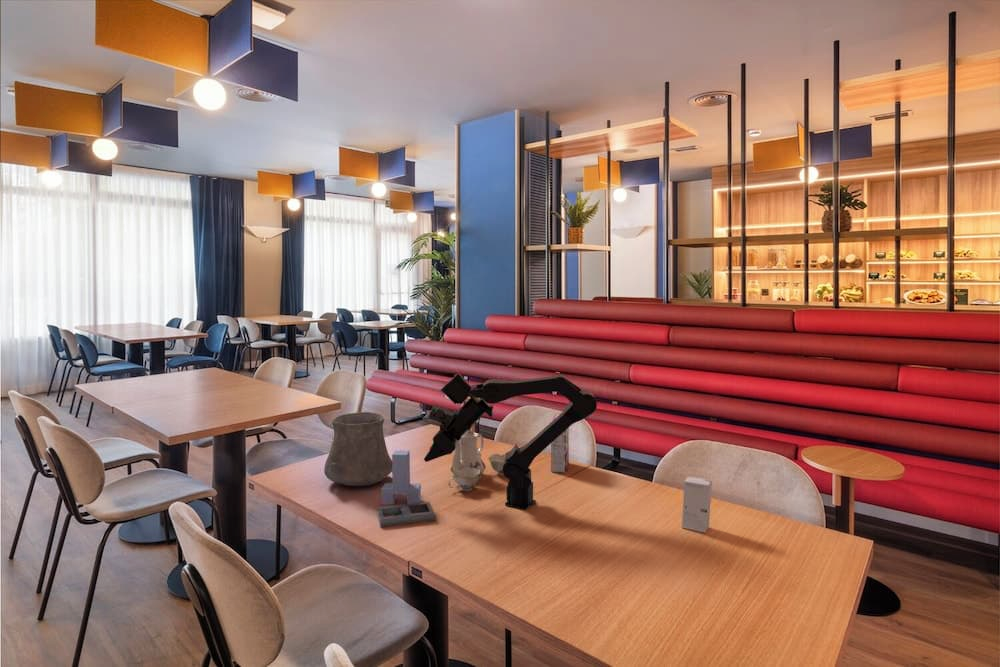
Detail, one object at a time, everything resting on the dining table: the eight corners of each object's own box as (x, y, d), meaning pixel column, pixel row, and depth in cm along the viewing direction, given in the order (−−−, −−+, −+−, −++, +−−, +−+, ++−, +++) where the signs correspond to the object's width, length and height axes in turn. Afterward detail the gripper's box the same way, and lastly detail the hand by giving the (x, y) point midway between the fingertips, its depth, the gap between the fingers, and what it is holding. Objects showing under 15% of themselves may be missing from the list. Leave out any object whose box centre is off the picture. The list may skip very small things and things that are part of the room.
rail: (429, 508, 160) (429, 501, 159) (435, 520, 152) (434, 513, 152) (377, 515, 156) (377, 507, 155) (380, 527, 148) (380, 519, 148)
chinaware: (471, 503, 168) (475, 447, 165) (424, 487, 176) (428, 433, 174) (519, 475, 192) (524, 426, 189) (477, 461, 200) (481, 414, 198)
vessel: (383, 497, 168) (382, 428, 166) (311, 492, 172) (309, 424, 170) (408, 472, 190) (408, 410, 188) (344, 468, 193) (342, 408, 192)
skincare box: (681, 528, 147) (682, 481, 146) (685, 521, 151) (686, 475, 150) (707, 533, 144) (708, 485, 143) (710, 526, 148) (712, 479, 147)
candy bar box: (554, 461, 200) (554, 414, 199) (568, 462, 199) (569, 414, 198) (550, 472, 189) (550, 422, 188) (565, 473, 188) (566, 422, 187)
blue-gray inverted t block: (421, 499, 167) (420, 450, 165) (418, 505, 162) (417, 455, 161) (385, 498, 167) (384, 450, 166) (381, 504, 163) (381, 454, 161)
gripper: (450, 388, 170) (413, 426, 172) (441, 402, 152) (399, 444, 153) (478, 415, 171) (440, 453, 172) (472, 432, 152) (430, 474, 154)
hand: (427, 455), depth 163 cm, fingers open, 9 cm apart
